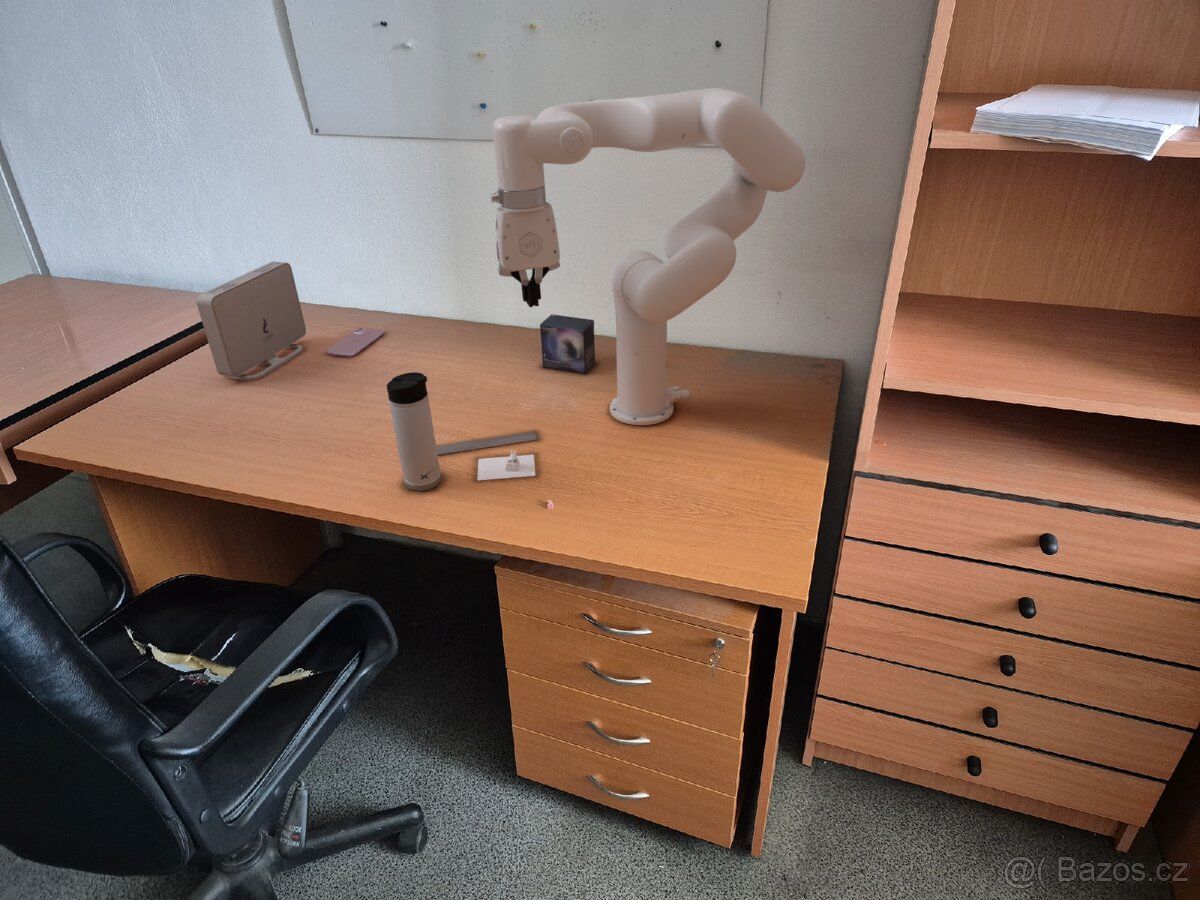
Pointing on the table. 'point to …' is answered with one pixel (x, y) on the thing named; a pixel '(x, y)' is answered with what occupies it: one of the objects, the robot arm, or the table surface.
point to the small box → (568, 343)
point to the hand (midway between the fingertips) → (532, 304)
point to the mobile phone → (355, 342)
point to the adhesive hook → (506, 467)
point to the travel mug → (414, 431)
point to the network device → (253, 320)
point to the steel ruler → (486, 443)
